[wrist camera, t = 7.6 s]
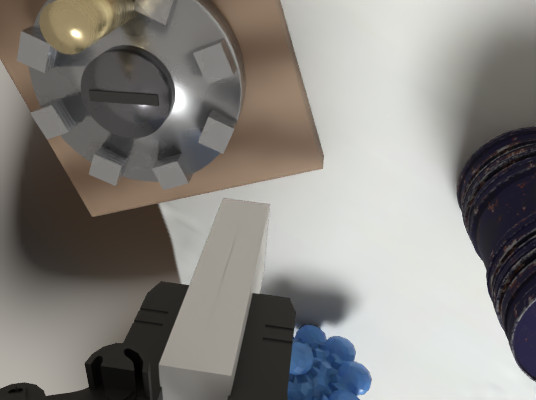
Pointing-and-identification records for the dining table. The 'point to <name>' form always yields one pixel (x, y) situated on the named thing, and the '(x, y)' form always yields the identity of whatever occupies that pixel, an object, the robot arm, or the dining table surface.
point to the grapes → (325, 368)
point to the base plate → (247, 128)
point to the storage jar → (506, 233)
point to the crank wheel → (136, 84)
